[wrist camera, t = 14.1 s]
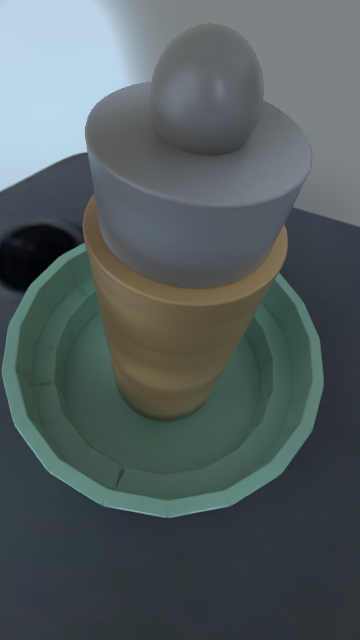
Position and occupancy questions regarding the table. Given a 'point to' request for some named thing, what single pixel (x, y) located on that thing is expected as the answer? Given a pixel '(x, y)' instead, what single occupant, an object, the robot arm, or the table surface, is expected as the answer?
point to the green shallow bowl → (149, 435)
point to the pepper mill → (187, 216)
